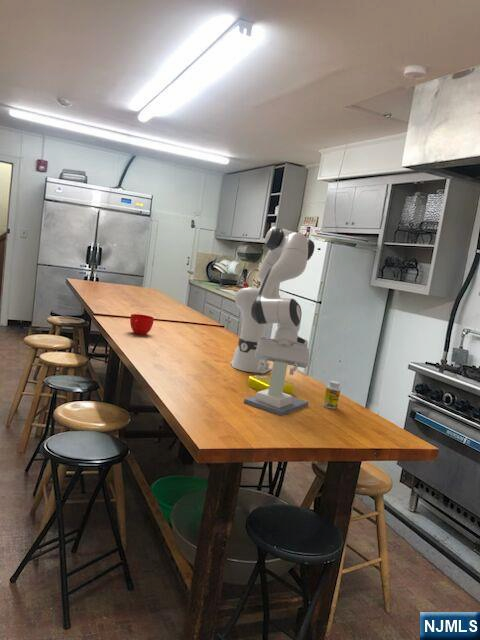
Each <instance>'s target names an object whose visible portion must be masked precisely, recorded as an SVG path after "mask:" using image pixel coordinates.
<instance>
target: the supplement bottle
mask: <svg viewBox="0 0 480 640" xmlns="http://www.w3.org/2000/svg"><path fill="white" fill-rule="evenodd" d="M340 394H341V388H340V382H338V381H336V380H330V381H329V383H328V385H327V386H326V388H325V393H324V397H323V402H322V405H323V406H324V407H325V408H327V409H337V408H338V404H339V399H340Z"/></svg>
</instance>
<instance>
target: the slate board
mask: <svg viewBox="0 0 480 640" xmlns="http://www.w3.org/2000/svg"><path fill="white" fill-rule="evenodd" d="M268 390H269V389H266V390H262V391H257V392H256V394H255V395H253V396H250V397H246V398H244V400H243V403H244V404H247V405H249V406H252V407H255V408H258V409H260V410H264V411H267V412H269V413H272V414H275V415H277V416H281V417H283V416H285V415H288V414H291V413H293V412H296V411H298V410H300V409H302V408H306V407H308V406H309V401H306V400H303V399H301V398H298V397H294V396H293V395H289V394H286V393H283V392H282V396H281V397H278V396H274V395H269V394H268Z"/></svg>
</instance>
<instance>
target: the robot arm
mask: <svg viewBox="0 0 480 640" xmlns="http://www.w3.org/2000/svg"><path fill="white" fill-rule="evenodd" d="M264 245H265V247H266V249H268V251H267V253H266V255H265V257H264V259H263V260H262V263H261V266H260V267H259V270H258V273H257V274H258V275H257V276H258V278H259V280H260V285H259V287H242V288H239V290H238V291H237V292H236V294H235V297H234V300H235V305H236V306H237V308H238V310H239V311H240V315H241V330H240V335H239V338H238V342H237V345H238V346H237V347H235V350H234V354H233V356H232V357H233V358H232V360H231V361H230V362H229V364H230V365H231V366H232V368H234V369H236V370H240V371H243V372H249V373H257V374H265V373H267V372H269V371H272V368H273V366H270V364H269V362H272V363H274V360H276V361H281V362H286V363H288V364H287V366H292V367H293V368H290V369H289V374H288V375H289V376H290V375H291V376H294V373H295V372H296V371H297V370H298V368H303V369H306V368H307V367H308V366H309V361H310V359H309V358H310V351H309V347H308V346H309V341H308V340H307V339H305V338H302V337H301V336H299V331H300V329H301V322H302V307H301V305H300V303H298V302H297V300H296V299H294V298H287V297H284V298H282V297H281V295H280V292H279V290H280V284H282V283H283V282H286V281H290V280H292V279H295V278H298V277H300V275H302V274H303V273H304V271H305V270H306V267H307V264H308V261H309V260H311V258H312V256H313V255H314V252H315V248H316V247H315V242H314V241H313V240H312V239H310V238H309V237H306V235H304V234H303V233H301V232H296V231H291V230H288V229H286V228H283V227H281V226H272V227H271V228H269V230H268V231H267V232H266V235H265V238H264ZM266 324H277V329H276V331H275V333H274V338H269V337H264V336H265V332H266Z"/></svg>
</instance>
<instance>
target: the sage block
mask: <svg viewBox="0 0 480 640" xmlns="http://www.w3.org/2000/svg"><path fill="white" fill-rule="evenodd" d="M287 364H288V363H286V362H281V361H276V360H274V362H272V369H271V374H270V375H271V379H270V384H269V390H268V394H269V395H274V396H278V397H281V396H282V392H283V386H284V381H286V375H287V369H288V365H287Z"/></svg>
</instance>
